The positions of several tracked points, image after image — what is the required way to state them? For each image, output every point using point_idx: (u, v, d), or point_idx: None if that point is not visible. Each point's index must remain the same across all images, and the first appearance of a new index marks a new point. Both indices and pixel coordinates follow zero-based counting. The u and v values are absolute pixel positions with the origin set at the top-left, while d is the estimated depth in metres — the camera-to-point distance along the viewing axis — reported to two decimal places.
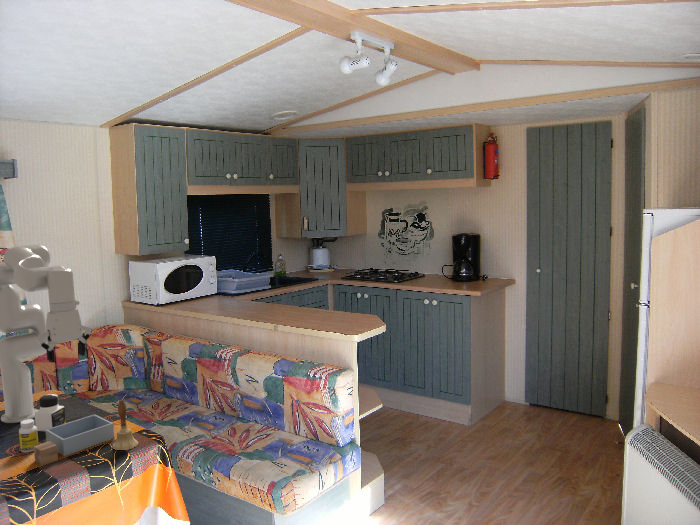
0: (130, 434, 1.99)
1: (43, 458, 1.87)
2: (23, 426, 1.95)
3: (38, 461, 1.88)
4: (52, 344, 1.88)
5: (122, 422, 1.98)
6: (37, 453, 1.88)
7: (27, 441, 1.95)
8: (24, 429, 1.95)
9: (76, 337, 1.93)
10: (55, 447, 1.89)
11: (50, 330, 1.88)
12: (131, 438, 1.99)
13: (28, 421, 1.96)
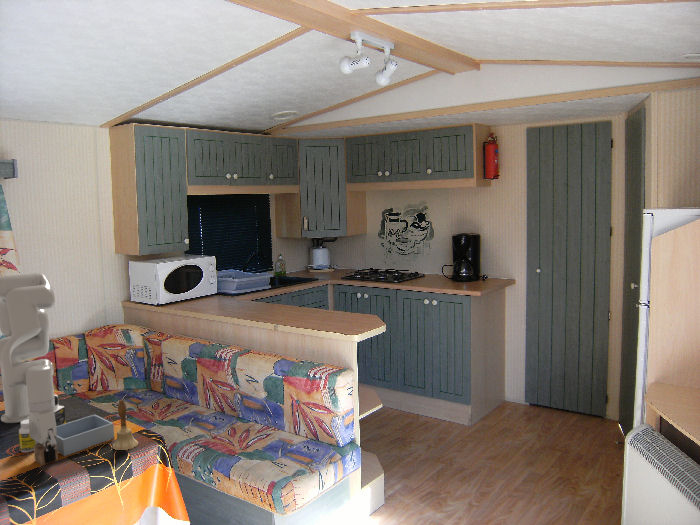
0: (130, 434, 1.99)
1: (43, 458, 1.87)
2: (23, 426, 1.95)
3: (38, 461, 1.88)
4: None
5: (122, 422, 1.98)
6: (37, 452, 1.88)
7: (27, 441, 1.95)
8: (24, 429, 1.95)
9: None
10: (55, 447, 1.89)
11: (54, 427, 1.86)
12: (131, 438, 1.99)
13: (28, 421, 1.96)
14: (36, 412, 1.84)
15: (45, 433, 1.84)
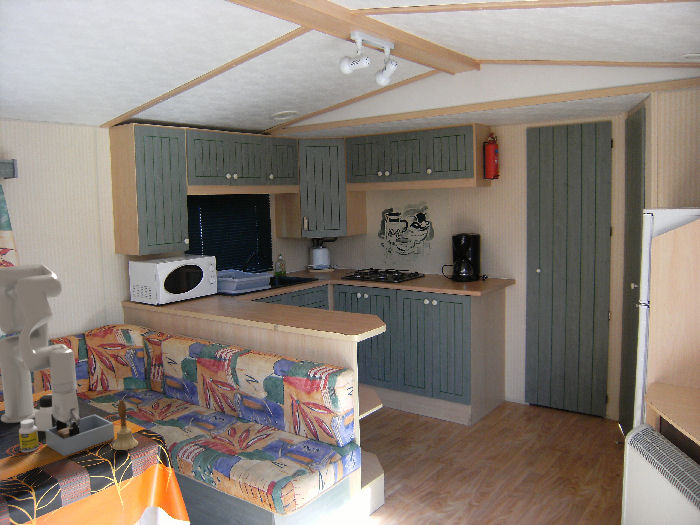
0: (130, 434, 1.99)
1: None
2: (23, 426, 1.95)
3: None
4: None
5: (122, 422, 1.98)
6: (60, 436, 1.98)
7: (27, 441, 1.95)
8: (24, 429, 1.95)
9: None
10: None
11: (76, 407, 1.96)
12: (131, 438, 1.99)
13: (28, 421, 1.96)
14: (59, 393, 1.94)
15: (68, 412, 1.94)
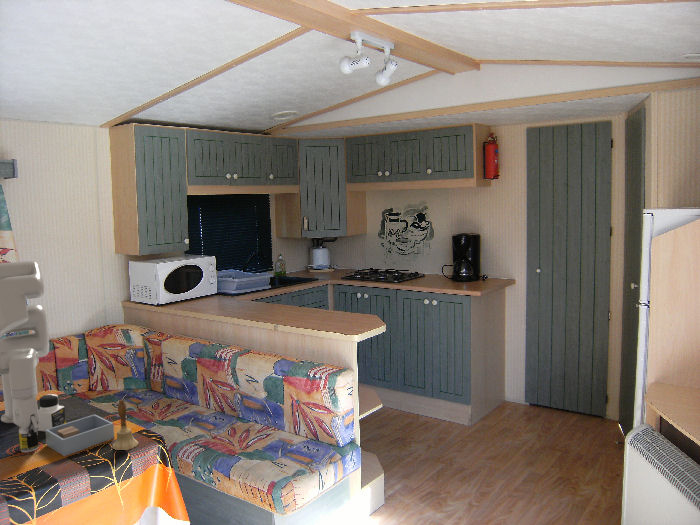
0: (130, 434, 1.99)
1: None
2: None
3: None
4: None
5: (122, 422, 1.98)
6: (60, 436, 1.98)
7: None
8: (24, 429, 1.95)
9: None
10: (77, 431, 2.00)
11: (36, 413, 1.94)
12: (131, 438, 1.99)
13: None
14: (19, 398, 1.92)
15: (27, 419, 1.92)
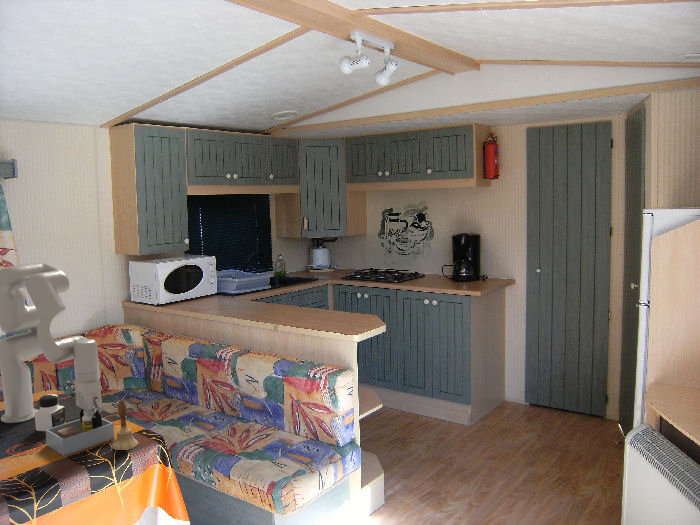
0: (130, 434, 1.99)
1: None
2: (86, 414, 2.03)
3: None
4: None
5: (122, 422, 1.98)
6: (60, 436, 1.98)
7: (90, 428, 2.03)
8: (87, 417, 2.04)
9: None
10: (77, 431, 2.00)
11: (99, 396, 2.02)
12: (131, 438, 1.99)
13: None
14: (83, 382, 2.00)
15: (91, 401, 2.00)
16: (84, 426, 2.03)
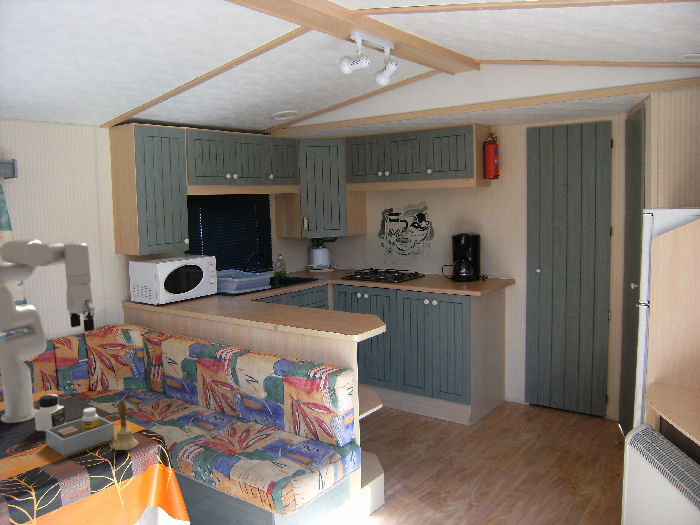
0: (130, 434, 1.99)
1: None
2: (86, 414, 2.03)
3: None
4: None
5: (122, 422, 1.98)
6: (60, 436, 1.98)
7: (90, 429, 2.03)
8: (87, 417, 2.03)
9: None
10: (77, 431, 2.00)
11: (90, 299, 2.00)
12: (131, 438, 1.99)
13: (90, 410, 2.05)
14: (74, 284, 1.98)
15: (82, 303, 1.98)
16: (84, 426, 2.03)
